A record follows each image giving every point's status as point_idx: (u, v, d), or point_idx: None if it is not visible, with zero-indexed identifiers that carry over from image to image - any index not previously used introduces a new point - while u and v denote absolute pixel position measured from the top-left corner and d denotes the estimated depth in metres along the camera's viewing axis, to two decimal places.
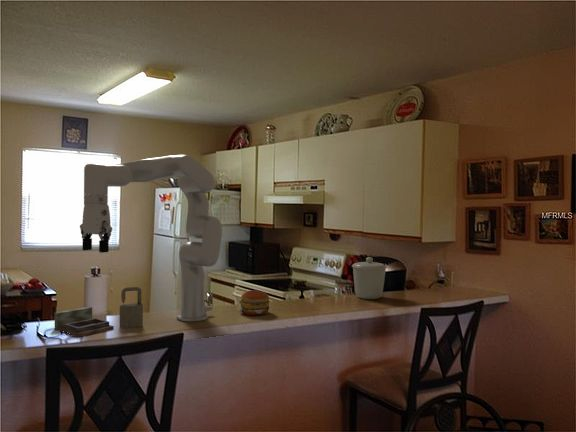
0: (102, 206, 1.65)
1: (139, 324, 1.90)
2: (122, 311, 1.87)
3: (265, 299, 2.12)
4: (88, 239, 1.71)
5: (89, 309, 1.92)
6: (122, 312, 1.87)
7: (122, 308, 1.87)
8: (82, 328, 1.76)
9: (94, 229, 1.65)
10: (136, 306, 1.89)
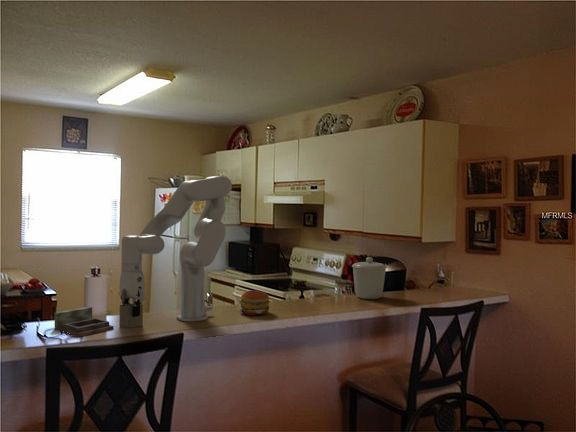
0: (138, 273, 1.86)
1: (139, 324, 1.90)
2: (122, 311, 1.87)
3: (265, 299, 2.12)
4: None
5: (89, 309, 1.92)
6: (122, 312, 1.87)
7: (122, 308, 1.87)
8: (82, 328, 1.76)
9: (130, 294, 1.86)
10: None
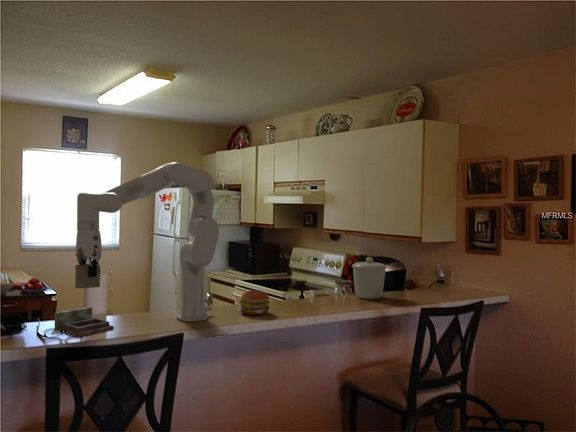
0: (94, 232, 1.79)
1: (96, 285, 1.82)
2: (77, 271, 1.79)
3: (265, 299, 2.12)
4: None
5: (89, 309, 1.92)
6: (77, 272, 1.79)
7: (77, 268, 1.79)
8: (82, 328, 1.76)
9: (86, 253, 1.79)
10: None
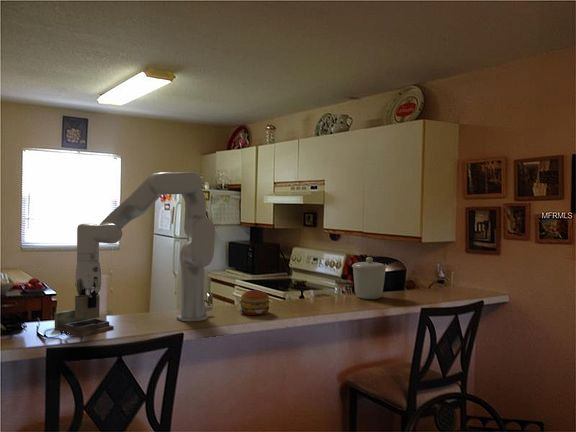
0: (93, 263, 1.79)
1: (95, 316, 1.82)
2: (77, 302, 1.79)
3: (265, 299, 2.12)
4: None
5: None
6: (77, 303, 1.79)
7: (77, 299, 1.79)
8: (82, 328, 1.76)
9: (86, 285, 1.79)
10: None
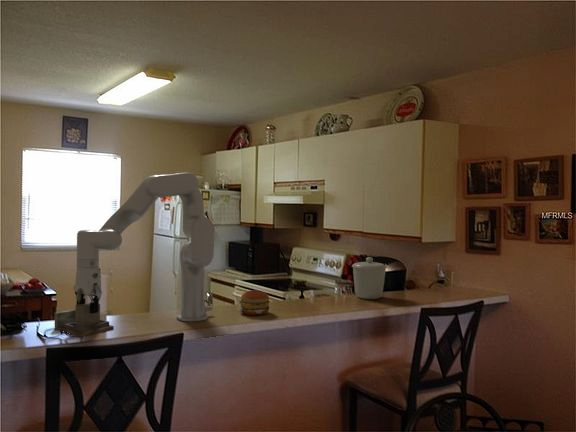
0: (93, 270, 1.79)
1: None
2: (78, 311, 1.79)
3: (265, 299, 2.12)
4: (82, 299, 1.85)
5: None
6: (78, 312, 1.79)
7: (77, 308, 1.79)
8: (82, 328, 1.76)
9: (86, 291, 1.79)
10: None
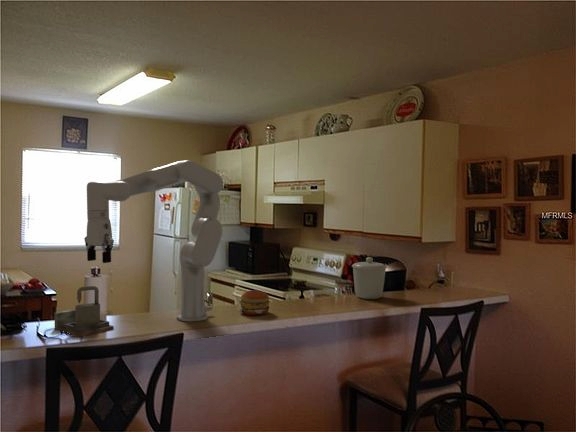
0: (104, 220, 1.80)
1: None
2: (78, 311, 1.80)
3: (265, 299, 2.12)
4: (92, 250, 1.86)
5: None
6: (78, 312, 1.80)
7: (77, 308, 1.79)
8: (82, 328, 1.76)
9: (97, 242, 1.80)
10: (93, 306, 1.82)
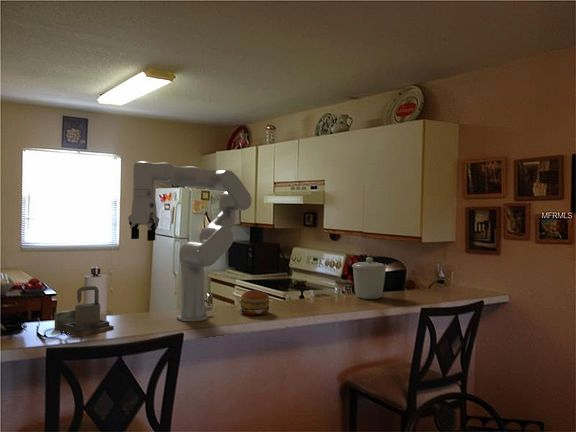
0: (150, 199, 1.85)
1: None
2: (78, 311, 1.79)
3: (265, 299, 2.12)
4: (136, 229, 1.91)
5: None
6: (78, 312, 1.80)
7: (77, 308, 1.79)
8: (82, 328, 1.76)
9: (142, 220, 1.85)
10: (93, 306, 1.82)
